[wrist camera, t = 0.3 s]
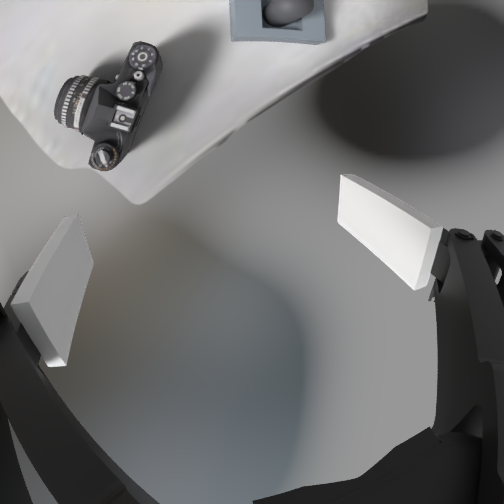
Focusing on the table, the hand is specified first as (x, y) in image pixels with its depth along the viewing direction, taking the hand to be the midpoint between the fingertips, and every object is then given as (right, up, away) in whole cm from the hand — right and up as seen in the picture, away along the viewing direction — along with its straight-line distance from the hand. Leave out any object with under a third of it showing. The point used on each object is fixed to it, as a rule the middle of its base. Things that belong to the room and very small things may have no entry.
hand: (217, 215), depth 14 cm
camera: (-16, +18, +17) cm, 30 cm away
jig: (+4, +34, +14) cm, 37 cm away
